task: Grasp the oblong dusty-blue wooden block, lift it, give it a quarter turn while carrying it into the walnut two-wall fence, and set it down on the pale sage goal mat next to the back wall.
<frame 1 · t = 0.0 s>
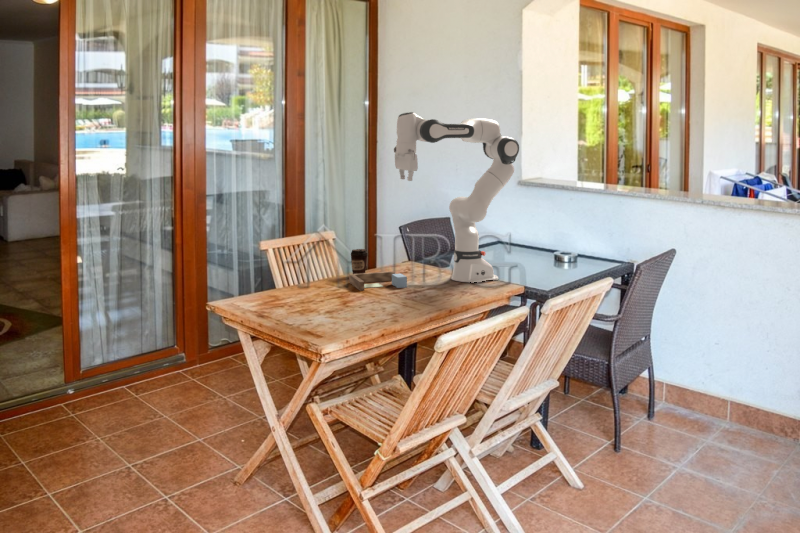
hand: (406, 180, 341), 48 cm above the table, fingers open, 8 cm apart
block: (399, 286, 346), on the table
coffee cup: (359, 276, 367), on the table
arena: (371, 285, 345), on the table
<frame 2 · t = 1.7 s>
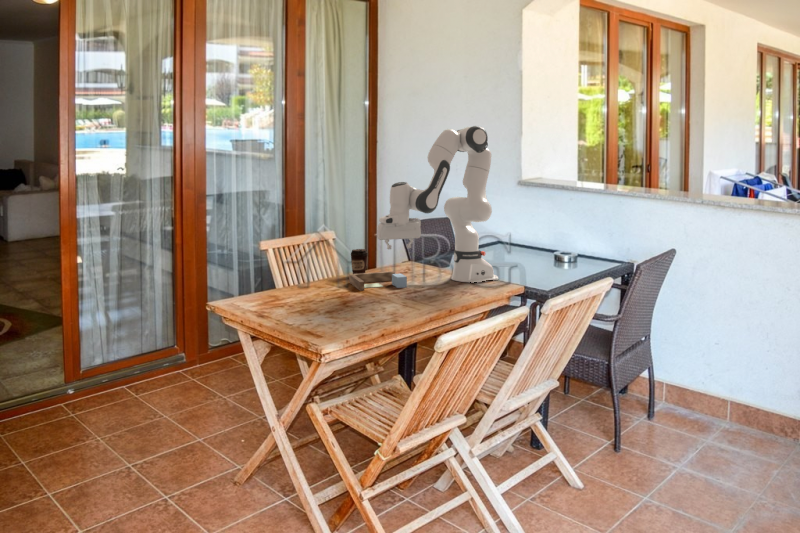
hand: (399, 248, 342), 17 cm above the table, fingers open, 8 cm apart
nothing on the table moved.
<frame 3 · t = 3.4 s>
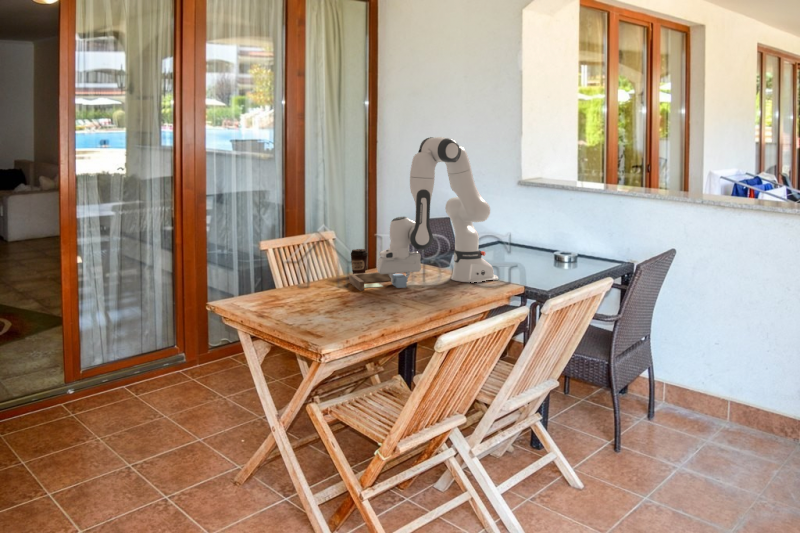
hand: (399, 282, 345), 2 cm above the table, fingers closed on block, 5 cm apart
block: (399, 286, 346), on the table, touching gripper
everything else where it was.
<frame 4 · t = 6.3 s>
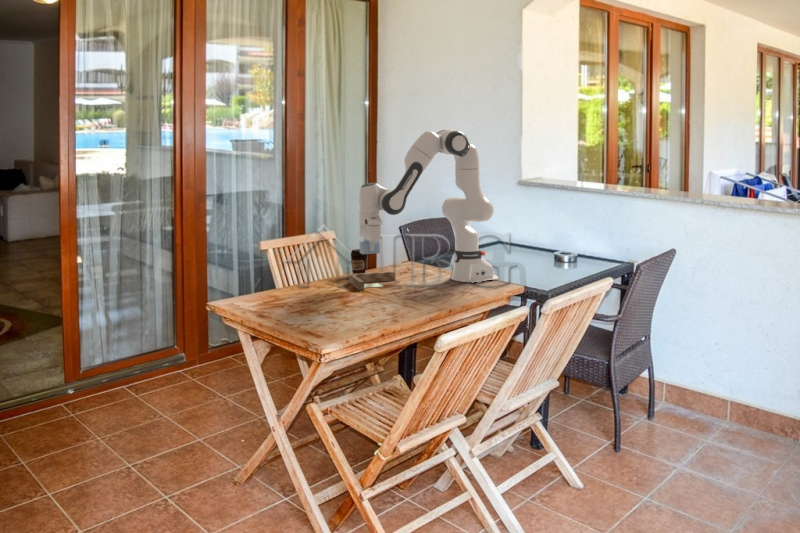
hand: (369, 249, 342), 17 cm above the table, fingers closed on block, 4 cm apart
block: (369, 252, 342), point 15 cm above the table, touching gripper
everything else where it was.
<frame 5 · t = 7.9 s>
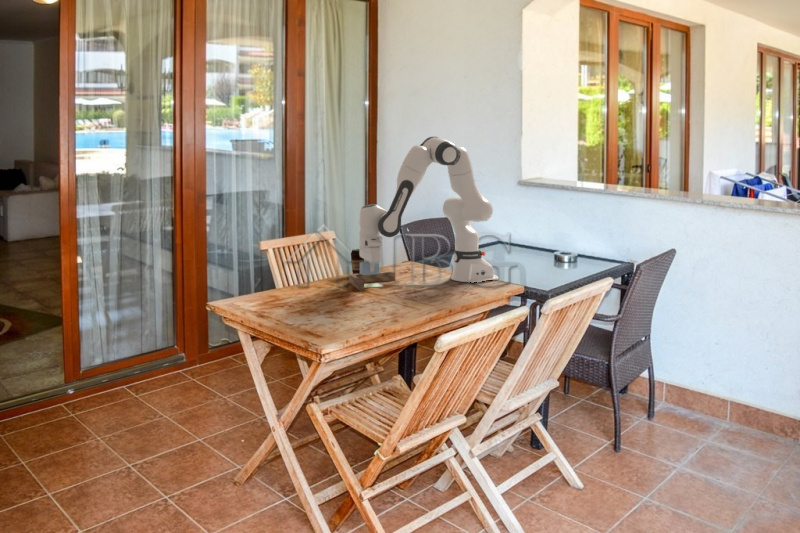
hand: (369, 270, 343), 7 cm above the table, fingers closed on block, 4 cm apart
block: (369, 273, 344), point 6 cm above the table, touching gripper
everything else where it was.
when the fingers open (4 cm above the table, at t = 9.1 s): block drops 2 cm, resting on arena.
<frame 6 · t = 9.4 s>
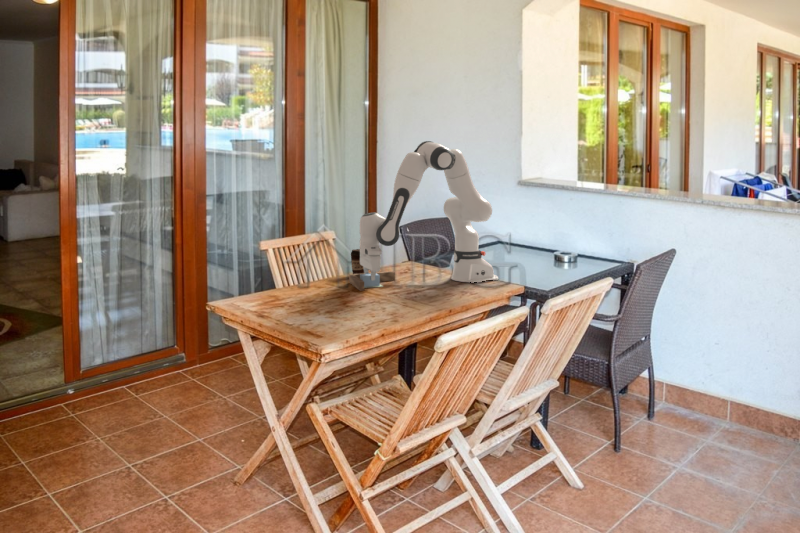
hand: (369, 278, 344), 4 cm above the table, fingers open, 8 cm apart
block: (369, 285, 345), resting on arena
everything else where it was.
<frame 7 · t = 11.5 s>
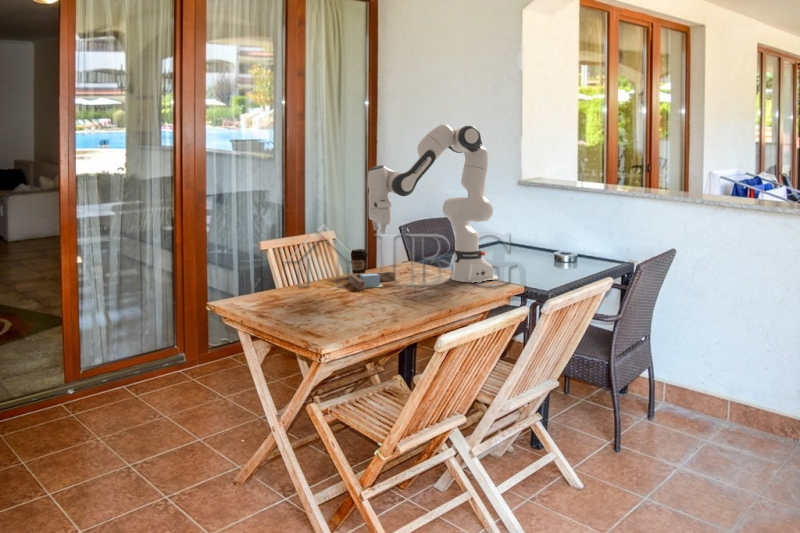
hand: (379, 231, 346), 24 cm above the table, fingers open, 8 cm apart
nothing on the table moved.
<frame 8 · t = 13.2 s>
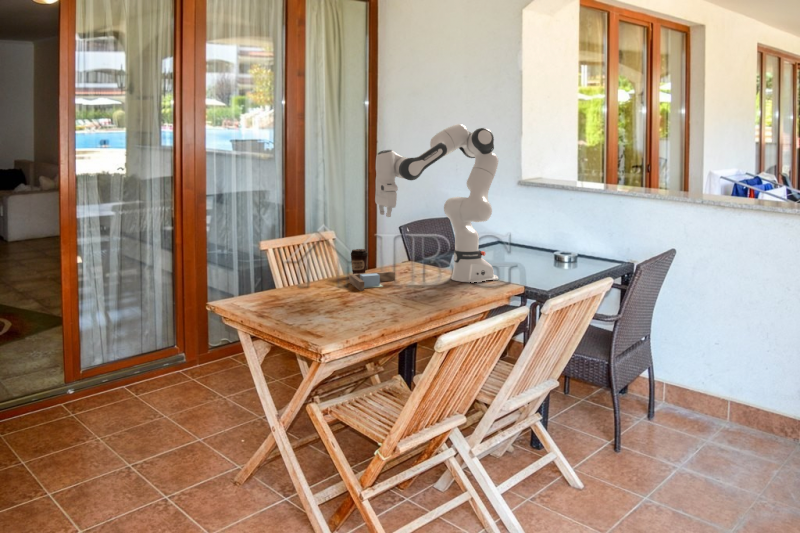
hand: (385, 215, 349), 31 cm above the table, fingers open, 8 cm apart
nothing on the table moved.
at the end: block inside the target area (0.1 cm from its centre), resting on arena; block tilted 0°; the gripper is holding nothing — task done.
